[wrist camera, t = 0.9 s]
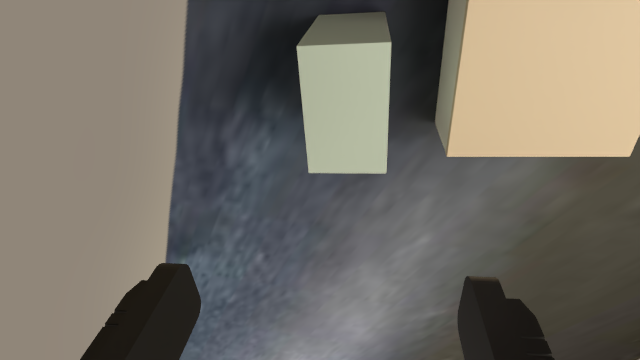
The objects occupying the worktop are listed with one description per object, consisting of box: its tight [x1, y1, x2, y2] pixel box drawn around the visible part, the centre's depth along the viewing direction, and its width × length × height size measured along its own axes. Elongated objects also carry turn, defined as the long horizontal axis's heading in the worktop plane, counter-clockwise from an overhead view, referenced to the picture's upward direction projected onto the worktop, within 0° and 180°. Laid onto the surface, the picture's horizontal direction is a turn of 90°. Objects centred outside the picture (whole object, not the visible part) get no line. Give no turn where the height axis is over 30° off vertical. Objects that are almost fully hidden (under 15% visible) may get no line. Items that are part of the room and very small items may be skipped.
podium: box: [435, 0, 640, 157], centre depth 25 cm, size 12×12×6 cm
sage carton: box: [297, 12, 391, 173], centre depth 26 cm, size 8×5×10 cm, turn 4°
